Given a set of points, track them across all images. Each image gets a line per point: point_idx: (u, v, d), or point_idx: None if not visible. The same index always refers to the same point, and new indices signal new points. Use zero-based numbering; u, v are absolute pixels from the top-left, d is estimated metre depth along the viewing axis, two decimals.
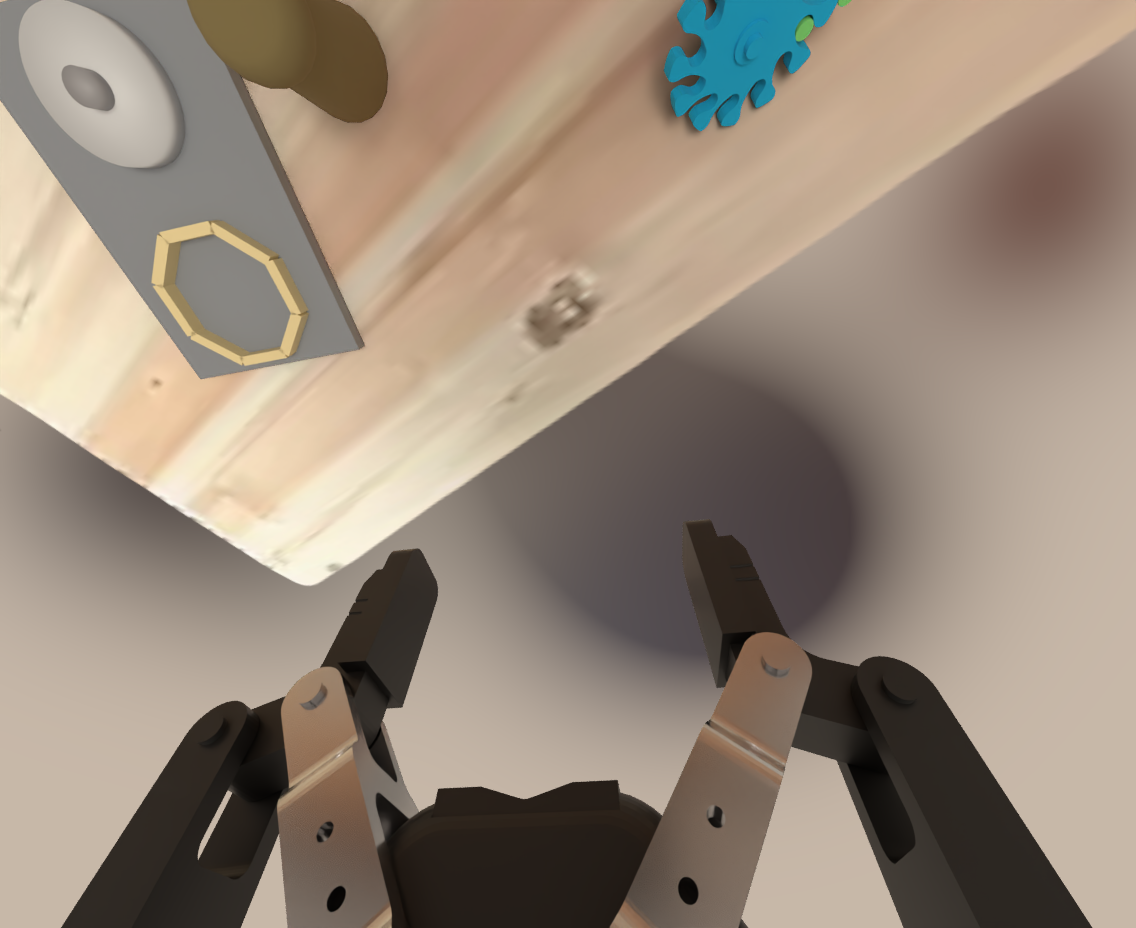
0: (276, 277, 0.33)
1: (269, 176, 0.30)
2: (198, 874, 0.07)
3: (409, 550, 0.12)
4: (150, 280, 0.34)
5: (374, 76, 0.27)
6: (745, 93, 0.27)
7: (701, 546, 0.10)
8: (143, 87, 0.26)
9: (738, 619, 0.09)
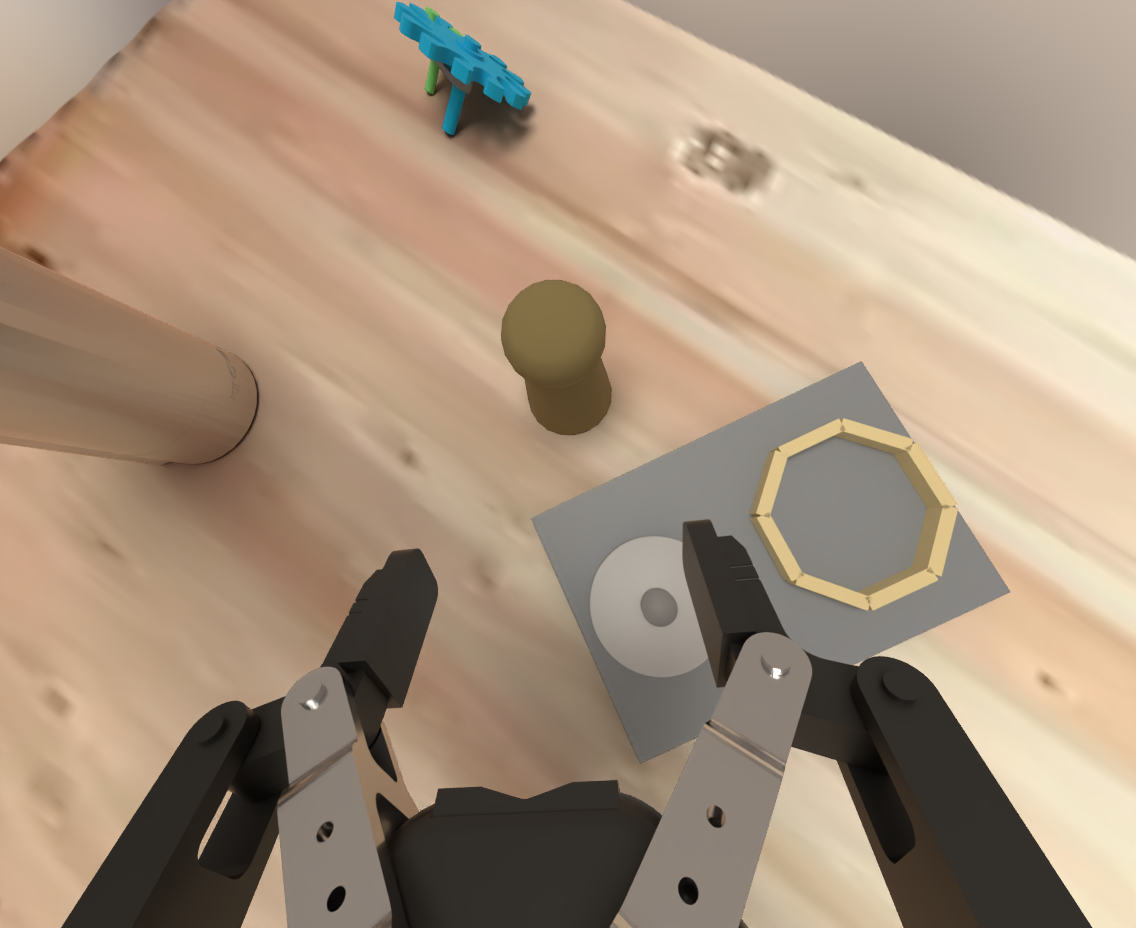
0: (799, 444, 0.25)
1: (684, 454, 0.27)
2: (198, 874, 0.07)
3: (409, 550, 0.12)
4: (863, 625, 0.24)
5: None
6: (500, 66, 0.32)
7: (701, 546, 0.10)
8: (640, 554, 0.25)
9: (738, 619, 0.09)
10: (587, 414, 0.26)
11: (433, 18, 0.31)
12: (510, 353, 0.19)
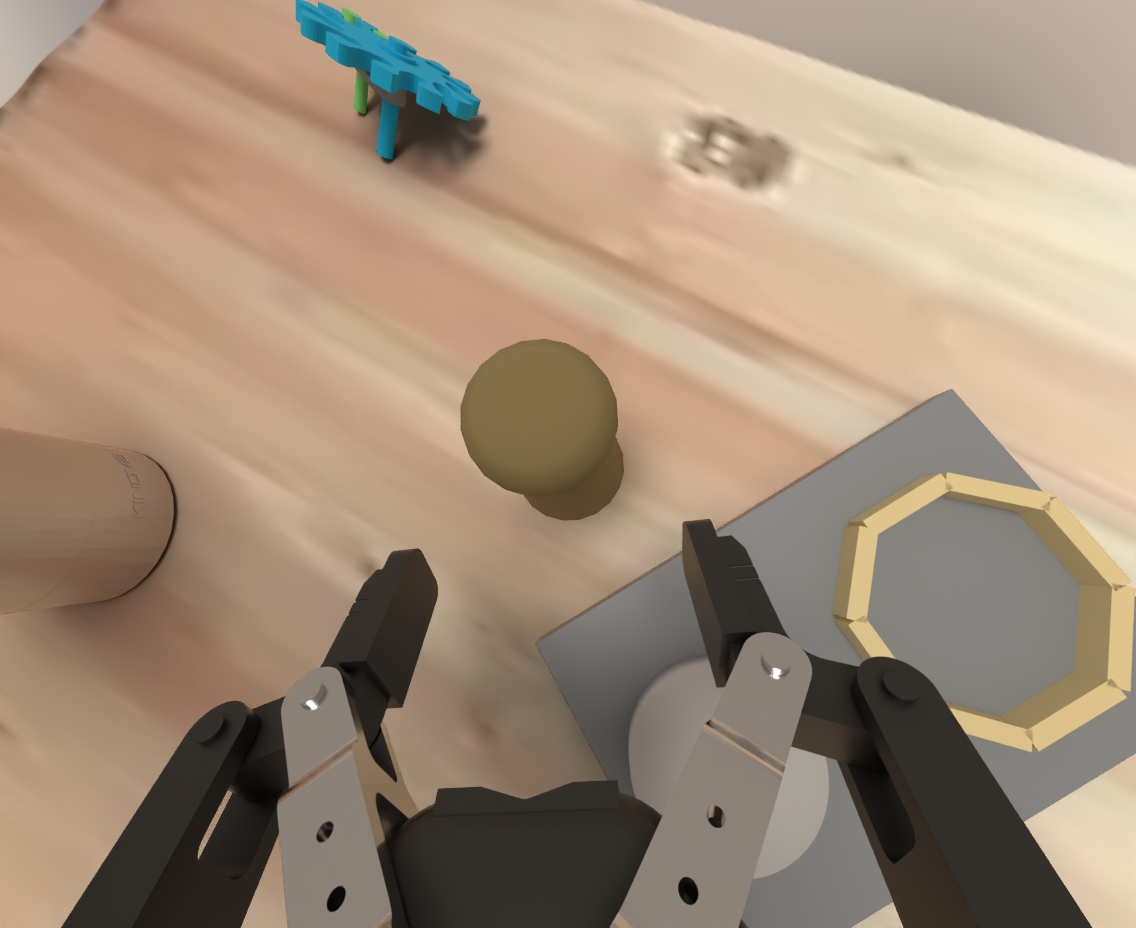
0: (891, 515, 0.18)
1: None
2: (198, 874, 0.07)
3: (409, 550, 0.12)
4: (1019, 765, 0.17)
5: None
6: (440, 72, 0.26)
7: (701, 546, 0.10)
8: (692, 693, 0.18)
9: (738, 619, 0.09)
10: (596, 499, 0.20)
11: (353, 21, 0.26)
12: (476, 459, 0.13)
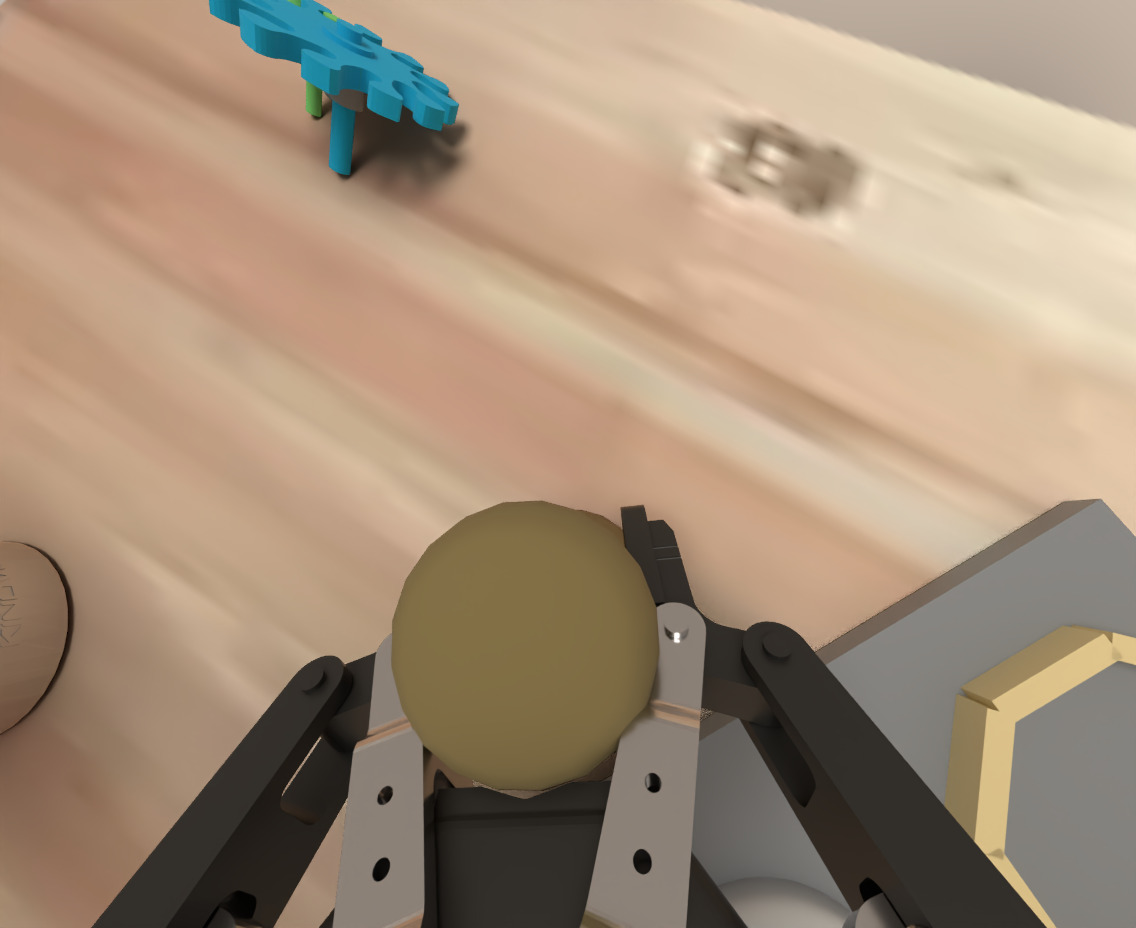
0: (1034, 694, 0.13)
1: None
2: (278, 815, 0.08)
3: None
4: None
5: None
6: (409, 67, 0.21)
7: (631, 529, 0.11)
8: None
9: (651, 592, 0.10)
10: None
11: (299, 0, 0.20)
12: (415, 729, 0.07)
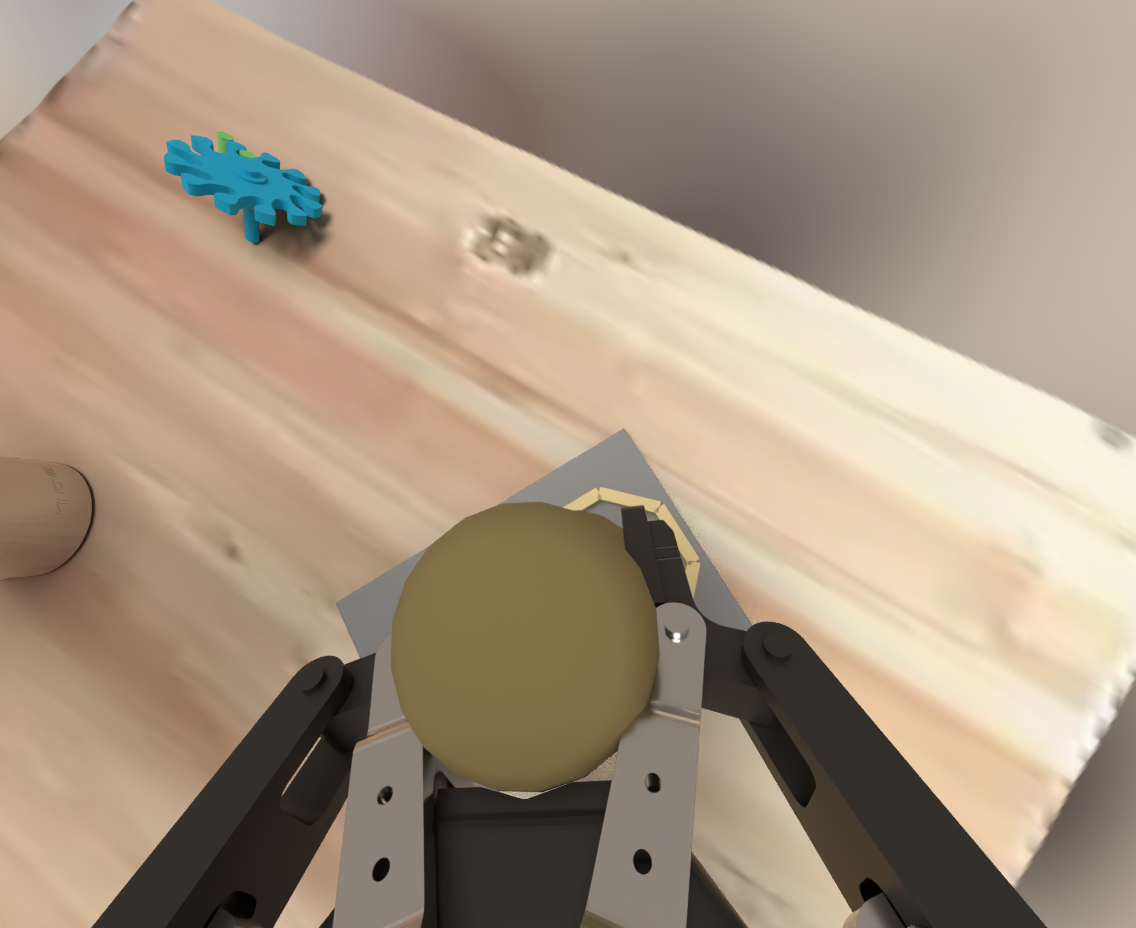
0: None
1: None
2: (278, 816, 0.08)
3: None
4: None
5: None
6: (292, 182, 0.35)
7: (631, 529, 0.11)
8: None
9: (651, 592, 0.10)
10: None
11: (225, 142, 0.34)
12: None
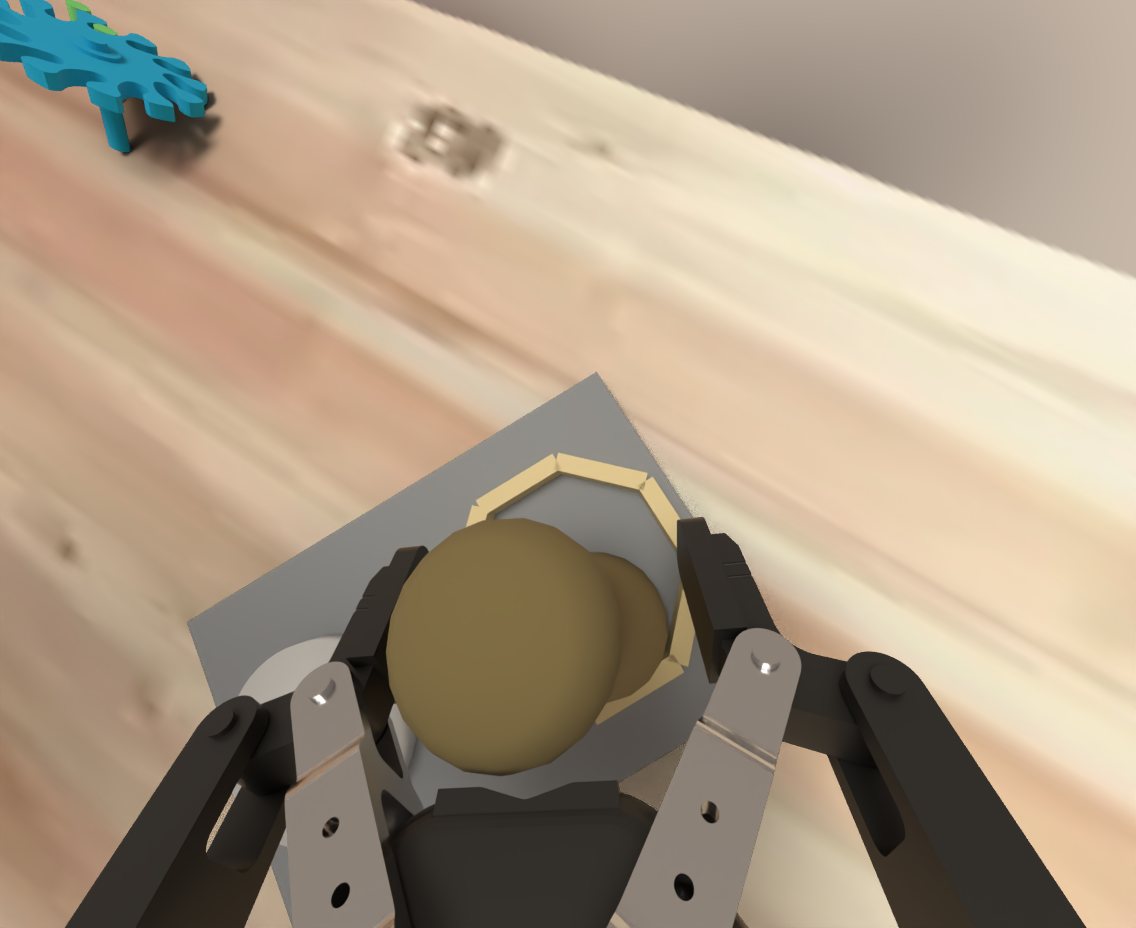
0: (502, 494, 0.19)
1: (376, 518, 0.20)
2: (206, 867, 0.07)
3: (415, 547, 0.12)
4: (603, 740, 0.18)
5: None
6: (166, 70, 0.27)
7: (694, 544, 0.11)
8: (292, 668, 0.18)
9: (729, 615, 0.09)
10: (622, 693, 0.14)
11: None
12: None
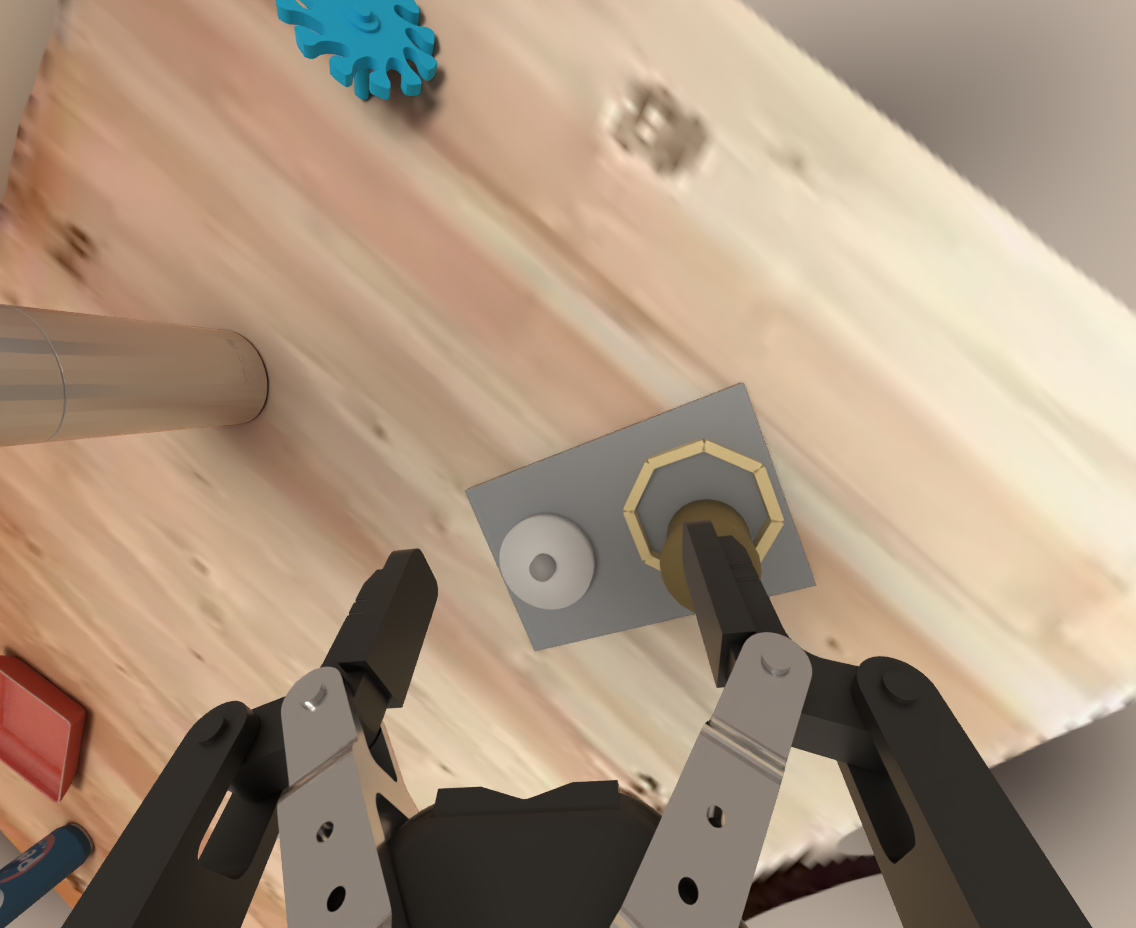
0: (665, 459, 0.30)
1: (579, 454, 0.33)
2: (198, 874, 0.07)
3: (409, 550, 0.12)
4: None
5: (714, 504, 0.29)
6: (405, 22, 0.29)
7: (701, 546, 0.10)
8: (534, 529, 0.33)
9: (738, 619, 0.09)
10: None
11: None
12: (668, 587, 0.22)
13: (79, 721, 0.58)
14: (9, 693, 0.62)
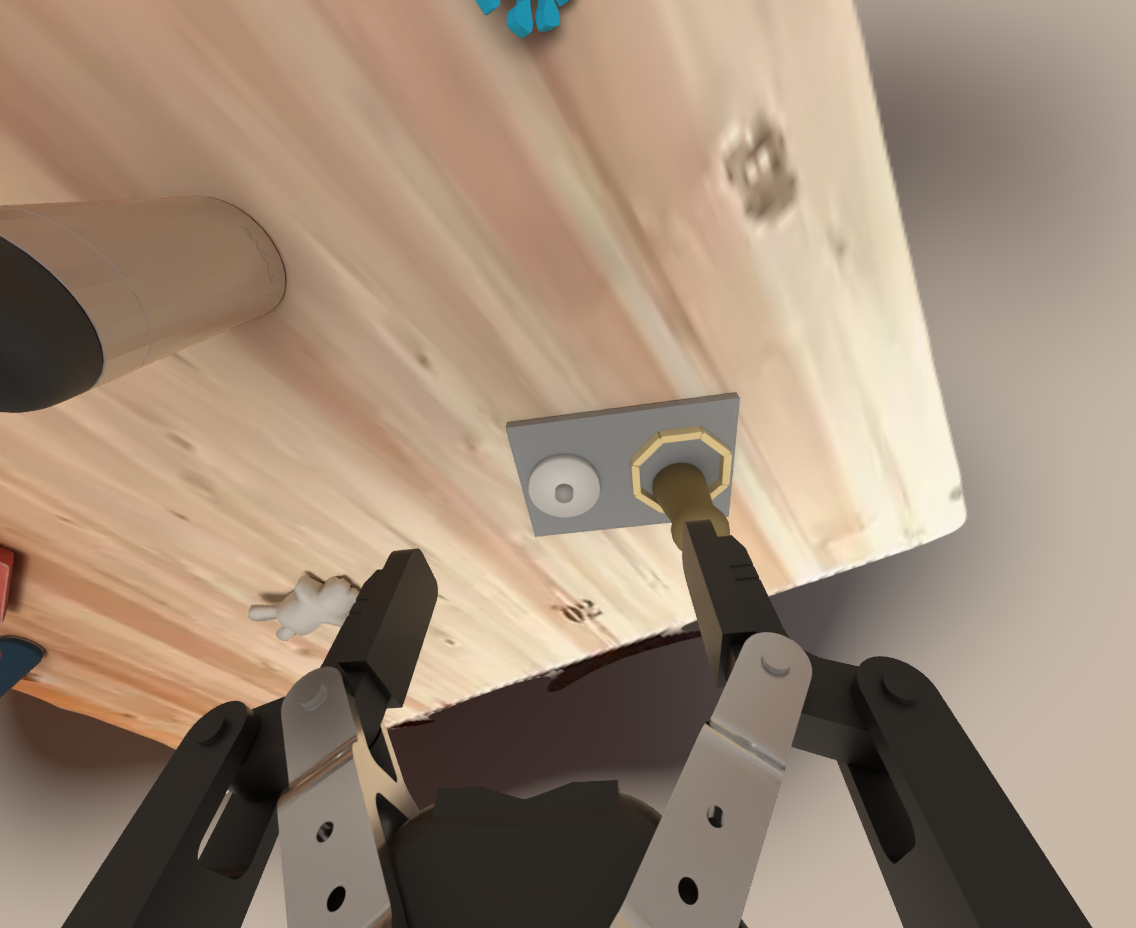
0: (673, 439, 0.42)
1: (609, 419, 0.42)
2: (198, 874, 0.07)
3: (409, 550, 0.12)
4: (658, 513, 0.50)
5: (693, 472, 0.44)
6: None
7: (701, 546, 0.10)
8: (563, 468, 0.44)
9: (738, 619, 0.09)
10: None
11: None
12: (677, 541, 0.38)
13: (12, 562, 0.56)
14: None
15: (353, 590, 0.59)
